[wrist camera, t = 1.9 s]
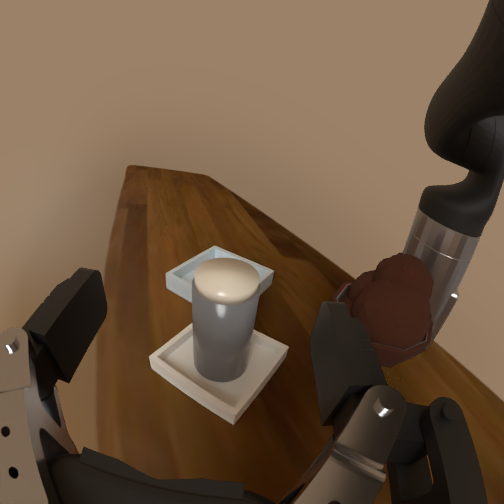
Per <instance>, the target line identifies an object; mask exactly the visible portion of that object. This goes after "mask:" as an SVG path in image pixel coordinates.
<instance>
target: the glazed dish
mask: <svg viewBox="0 0 504 504" xmlns="http://www.w3.org/2000/svg"><path fill="white" fill-rule="evenodd" d="M213 258H234V259H238V260H242V261H244V262H246V263H248V264H250V265H252V266H253V267H254V268H255V269H256V270H257V271H258V273H259V276H260V279H259V284H260V295H261V294H262V293H263V292H264V291H265V290H266V289H267V288H268V287H269V286H270V285H271V284H272V279H273V274H274V270H271V269H269V268H267V267H264V266H262V265H259V264H257V263H255V262H252V261H250V260H248V259H245V258H243V257H240V256H238V255H236V254H233V253H231V252H229V251H226V250H224V249H221V248H219V247H217V246H213V247H211V248H210V249H208V250H206V251H204V252H202V253H201V254H199V255H197V256H195V257H194V258H192V259H190V260H188V261H186V262H185V263H183V264H181V265H179V266H178V267H176V268H174V269H172V270H171V271H169V272H167V273H166V287H167V288H168V289H169V290H171V291H172V292H174V293H176V294H178V295H179V296H181V297H183V298H184V299H186V300H188V301H189V302H191V303H192V280H193V278H194V272H195V269H196V268H197V266H198V265H199V264H201V263H202V262H204V261H206V260H209V259H213ZM260 295H259V296H260Z"/></svg>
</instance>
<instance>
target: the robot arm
mask: <svg viewBox="0 0 504 504" xmlns="http://www.w3.org/2000/svg"><path fill="white" fill-rule="evenodd" d="M424 129H425V137H426V141H427V143H428V145H429V147H430V148H431V150H432V151H433V152H434V153H436V154H437V155H438V156H440V157H441V158H443V159H445V160H447V161H450V162H452V163H454V164H457V165H459V166H462V167H464V168H466V169H468V170H469V173H468V175H467V177H466V178H465V179H464V180H463V181H461V182H459V183H456V184H452V185H440V186H439V185H437V186H428V187H426V188H425V189H424V191H423V193H422V196H421V199H420V203H419V207H418V209H417V212H416V215H415V219H414V222H413V225H412V228H411V231H410V234H409V237H408V240H407V242H406V245H405V248H404V250H403V254H408V255H413V256H415V257H417V258H419V259H421V260H422V261H423V262H424V263H425V264H426V265H427V267H428V269H429V271H430V273H431V275H432V278H433V280H434V285H433V289H432V295H431V298H430V300H429V303H430V306H431V317H432V322H433V329H432V335H431V341H430V344H431V343H432V341H433V340H434V338H435V337H436V335H437V334H438V332H439V330H440V329H441V327H442V325H443V324H444V322H445V320H446V319H447V317H448V315H449V314H450V312H451V310H452V308H453V307H454V305H455V303H456V301H457V299H458V296H459V294H458V286H459V284H460V282H461V280H462V278H463V276H464V274H465V272H466V270H467V267H468V265H469V263H470V261H471V259H472V256H473V254H474V251H475V249H476V246H477V244H478V241H479V239H480V236H481V234H482V231H483V229H484V226H485V225H486V223H487V221H488V220H489V218H490V216H491V215H492V212H493V210H494V208H495V205H496V202H497V199H498V196H499V192H500V190H501V187H502V183H503V180H504V0H489V2H488V5H487V8H486V10H485V13H484V16H483V18H482V21H481V23H480V25H479V27H478V29H477V32H476V33H475V36H474V37H473V39H472V41H471V43H470V45H469V47H468V49H467V50H466V52H465V53H464V55H463V57H462V58H461V59H460V61H459V62H458V63H457V65H456V66H455V67H454V68H453V70H452V71H451V72H450V73H449V75H448V76H447V77H446V79H445V80H444V81H443V82H442V84H441V85H440V86H439V88H438V89H437V91H436V93H435V94H434V96H433V98H432V100H431V102H430V105H429V107H428V110H427V113H426V118H425V126H424ZM106 314H107V301H106V296H105V292H104V287H103V282H102V277H101V273H100V272H99V271H97V270H92V269H87V268H79V269H78V270H77V271H76V272H75V273H74V274H73V276H72V277H71V278H70V279H67V280H65V281H63V282H62V283H60V284H58V285H57V286H56V288H55V289H54V290H53V291H52V292H51V293H50V296H48V297H47V298H46V299H45V300H44V303H42V304H41V305H40V306H39V307H38V308H37V310H36V311H35V312H34V313H33V315H32V316H31V317H30V318H29V320H28V321H27V322H26V323H25V325H24V326H23V328H17V327H16V328H10V329H7V330H5V331H4V332H2V333H1V334H0V504H276V503H274V502H272V501H271V500H269V499H267V498H265V497H263V496H261V495H259V494H256V493H254V492H251V491H247V490H244V483H239V482H227V481H217V480H209V479H202V478H200V479H180V480H158V479H154V478H152V477H150V476H148V475H146V474H144V473H142V472H140V471H138V470H136V469H135V468H133V467H131V466H129V465H127V464H126V463H124V462H122V461H120V460H119V459H116V458H113V457H110V456H107V455H104V454H101V453H99V452H96V451H93V450H91V449H88V448H86V447H84V448H83V450H82V453H81V454H79V453H78V451H77V448H76V446H75V444H74V443H73V441H72V440H71V438H70V436H69V434H68V431H67V428H66V424H65V420H64V416H63V412H62V408H61V404H60V399H59V395H58V390H57V387H56V385H55V384H56V382H57V380H58V379H59V380H62V381H65V382H67V383H70V381H71V379H72V377H73V375H74V373H75V371H76V369H77V367H78V366H79V364H80V362H81V360H82V358H83V356H84V354H85V353H86V351H87V349H88V347H89V345H90V343H91V342H92V340H93V339H94V337H95V335H96V333H97V332H98V330H99V328H100V327H101V325H102V323H103V322H104V320H105V318H106ZM430 344H429V345H428V346H427V347H426V348H425V350H427V349H428V348H429V346H430ZM310 352H311V358H312V364H313V370H314V376H315V383H316V389H317V396H318V403H319V410H320V417H321V424H322V426H328V425H333V430H334V433H333V435H332V436H331V437H330V439H329V440H328V442H327V443H326V445H325V446H324V447H323V449H322V450H321V452H320V453H319V454H318V456H317V457H316V458H315V460H314V461H313V462H312V464H311V465H310V466H309V468H308V469H307V470H306V471H305V473H304V474H303V475H302V476H301V477H300V479H299V480H298V481H297V482H296V483H295V484H294V485H293V486H292V487H291V488H290V489H289V490H288V492H287V493H286V494H285V495H284V496H283V497H282V498H281V499H280V500H279V502H278V503H277V504H372V503H373V501H374V500H375V498H376V496H377V494H378V492H379V491H380V489H381V487H382V485H383V483H384V480H385V477H386V473H385V472H384V471H383V466H384V464H385V462H387V468H388V475H389V483H390V491H391V500H392V504H488V502H487V497H486V492H485V487H484V482H483V478H482V474H481V470H480V466H479V462H478V458H477V455H476V451H475V448H474V445H473V441H472V438H471V435H470V432H469V429H468V426H467V423H466V420H465V418H464V415H463V412H462V410H461V408H460V406H459V405H458V404H457V403H456V402H455V401H454V400H452V399H450V398H447V397H440V398H437V399H435V400H434V401H433V402H432V403H431V404H430V405H429V406H423V405H417V404H412V403H407V402H406V401H405V399H404V397H403V396H402V395H401V393H400V392H398V391H397V390H396V389H394V388H392V387H390V386H388V385H387V383H386V380H385V377H384V374H383V371H382V369H381V366H380V363H379V360H378V358H377V355H376V352H375V351H374V347H373V344H372V342H371V341H370V337H369V334H368V331H367V329H366V327H365V326H364V325H363V324H362V323H361V322H360V320H359V319H358V318H355V317H351V316H350V313H349V311H348V308H347V305H346V304H345V303H344V302H332V301H323V303H322V304H321V307H320V310H319V313H318V316H317V319H316V321H315V324H314V327H313V330H312V333H311V337H310ZM427 455H428V457H429V461H430V466H431V471H432V476H433V485H432V479H431V474H430V469H429V464H428V460H427Z"/></svg>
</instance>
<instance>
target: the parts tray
mask: <svg viewBox="0 0 504 504" xmlns="http://www.w3.org/2000/svg"><path fill="white" fill-rule="evenodd" d="M288 348H289V346H286V345H284V344H282V343H280V342H278V341H276V340H274V339H272V338H270V337H268V336H266V335H264V334H262V333H260V332H258V331H256V330H253V335H252V341H251V347H250V352H249V358H248V363H247V368H246V370H245V372H244V373H243V374H242V375H241V376H240V377H239V378H237V379H235V380H233V381H230V382H214V381H211V380H208V379H206V378H204V377H203V376H202V375H200V374H199V372H198V371H197V370H196V368H195V365H194V355H193V326H192V323H191V324H190V325H189V326H188V327H186V328H185V329H184V330H182V331H181V332H180V333H179V334H177V335H176V336H175V337H173V338H172V339H171V340H170V341H168V342H167V343H166V344H165V345H163V346H162V347H161V348H159V349H158V350H157V351H155V352H154V353H153V354H152V355H150V356H149V360H150V364H151V368H152V369H153V370H154V371H156V372H157V373H158V374H159V375H161V376H162V377H163V378H165V379H166V380H167V381H169V382H170V383H171V384H173V385H174V386H175V387H177V388H178V389H180V390H181V391H182V392H184V393H185V394H187V395H188V396H189V397H191V398H192V399H194V400H195V401H197V402H198V403H200V404H201V405H203V406H204V407H206V408H207V409H209V410H210V411H212V412H213V413H215V414H217V415H218V416H220V417H221V418H223V419H225V420H226V421H228V422H230V423H231V424H233V425H234V424H235V423H236V421H237V420H238V419H239V418H240V417H241V415H242V414H243V413H244V412H245V411H246V409H247V408H248V407H249V406H250V404H251V403H252V402H253V400H254V399H255V398H256V397H257V395H258V394H259V393H260V392H261V390H262V389H263V388H264V386H265V385H266V384H267V382H268V381H269V380H270V378H271V377H272V376H273V374H274V373H275V372H276V370H277V369H278V368H279V366H280V365H281V363H282V362H283V361H284V359H285V358H286V354H287V351H288Z"/></svg>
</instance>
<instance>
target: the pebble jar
mask: <svg viewBox="0 0 504 504" xmlns="http://www.w3.org/2000/svg"><path fill="white" fill-rule="evenodd" d="M259 279H260V276H259V273H258V271H257V270H256V269H255V268H254V267H253V266H252V265H250V264H248V263H246V262H244V261H242V260H238V259H234V258H213V259H209V260H206V261H204V262H202V263H201V264H199V265H198V266H197V268H196V269H195V272H194V278H193V280H192V326H193V355H194V365H195V368H196V370H197V371H198V372H199V374H200V375H202V376H203V377H204V378H206V379H208V380H211V381H214V382H230V381H233V380H235V379H237V378H239V377H240V376H241V375H242V374H243V373H244V372H245V370H246V368H247V363H248V358H249V352H250V347H251V341H252V335H253V330H254V324H255V318H256V313H257V307H258V301H259V295H260V284H259Z"/></svg>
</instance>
